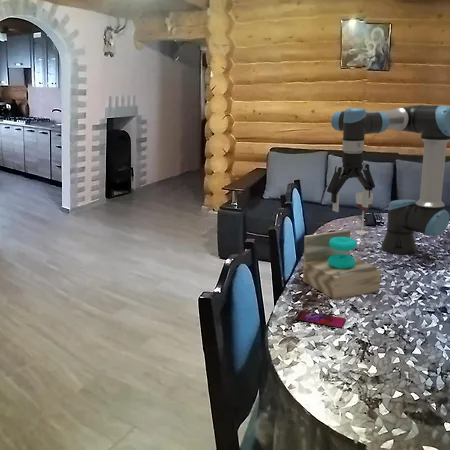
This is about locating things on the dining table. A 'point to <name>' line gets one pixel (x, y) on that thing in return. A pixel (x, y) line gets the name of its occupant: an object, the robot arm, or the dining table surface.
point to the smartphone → (320, 319)
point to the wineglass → (363, 208)
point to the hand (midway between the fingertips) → (350, 209)
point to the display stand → (336, 269)
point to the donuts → (342, 259)
